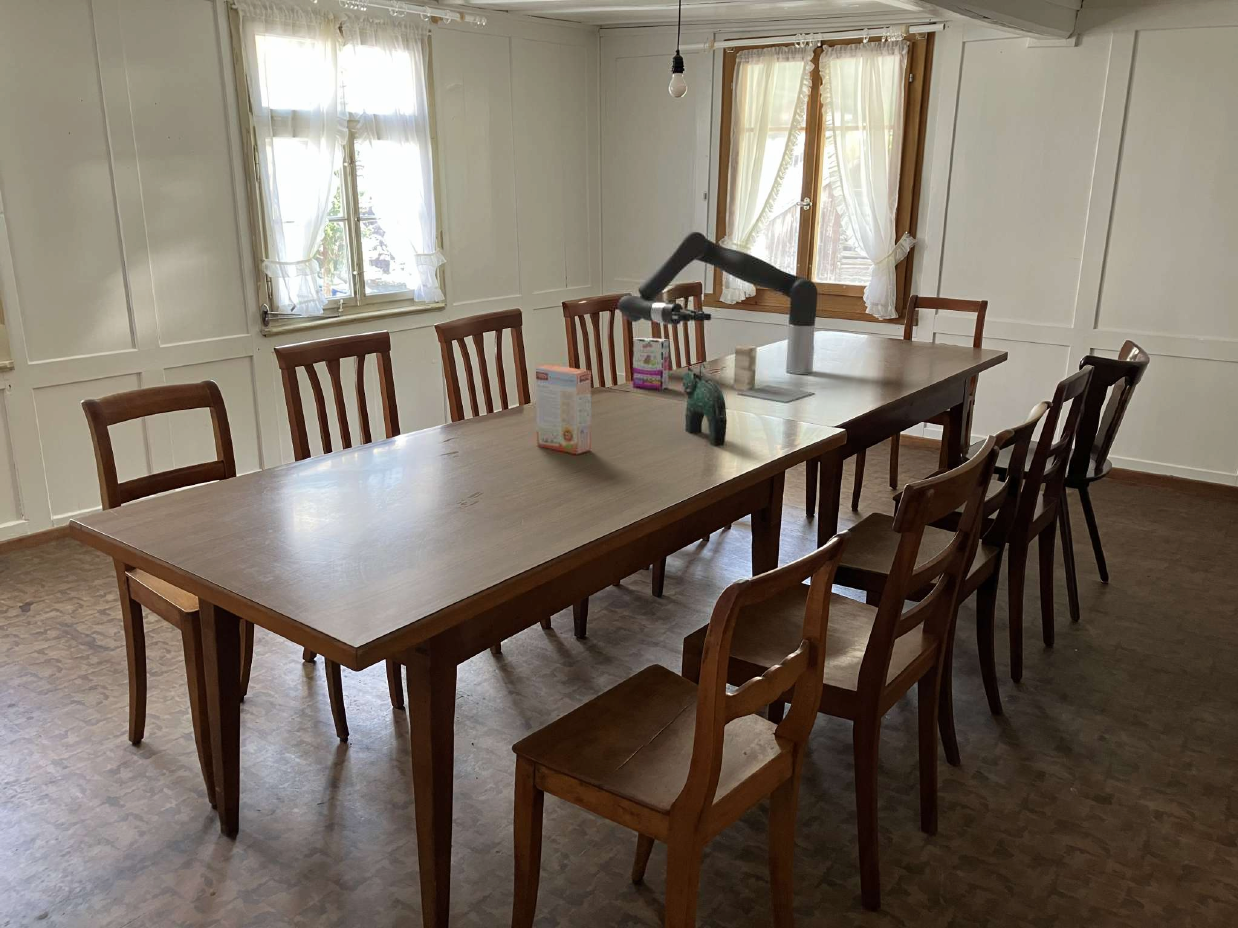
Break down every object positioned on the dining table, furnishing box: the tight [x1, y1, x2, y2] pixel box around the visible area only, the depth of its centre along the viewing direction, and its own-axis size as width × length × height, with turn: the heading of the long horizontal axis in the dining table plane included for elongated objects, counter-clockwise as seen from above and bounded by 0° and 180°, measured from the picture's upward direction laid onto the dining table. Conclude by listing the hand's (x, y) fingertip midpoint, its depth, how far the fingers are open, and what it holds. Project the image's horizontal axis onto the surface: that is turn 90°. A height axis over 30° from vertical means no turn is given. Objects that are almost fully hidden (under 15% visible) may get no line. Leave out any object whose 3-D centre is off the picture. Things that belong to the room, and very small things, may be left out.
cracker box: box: [535, 364, 592, 455], centre depth 247 cm, size 14×6×21 cm, turn 51°
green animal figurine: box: [682, 362, 728, 447], centre depth 260 cm, size 20×6×20 cm, turn 21°
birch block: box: [733, 344, 758, 392], centre depth 322 cm, size 5×5×14 cm
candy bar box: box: [632, 336, 670, 391], centre depth 322 cm, size 11×5×16 cm, turn 62°
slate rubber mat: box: [737, 384, 816, 404], centre depth 316 cm, size 18×18×1 cm
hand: (707, 317), depth 327 cm, fingers open, 3 cm apart
